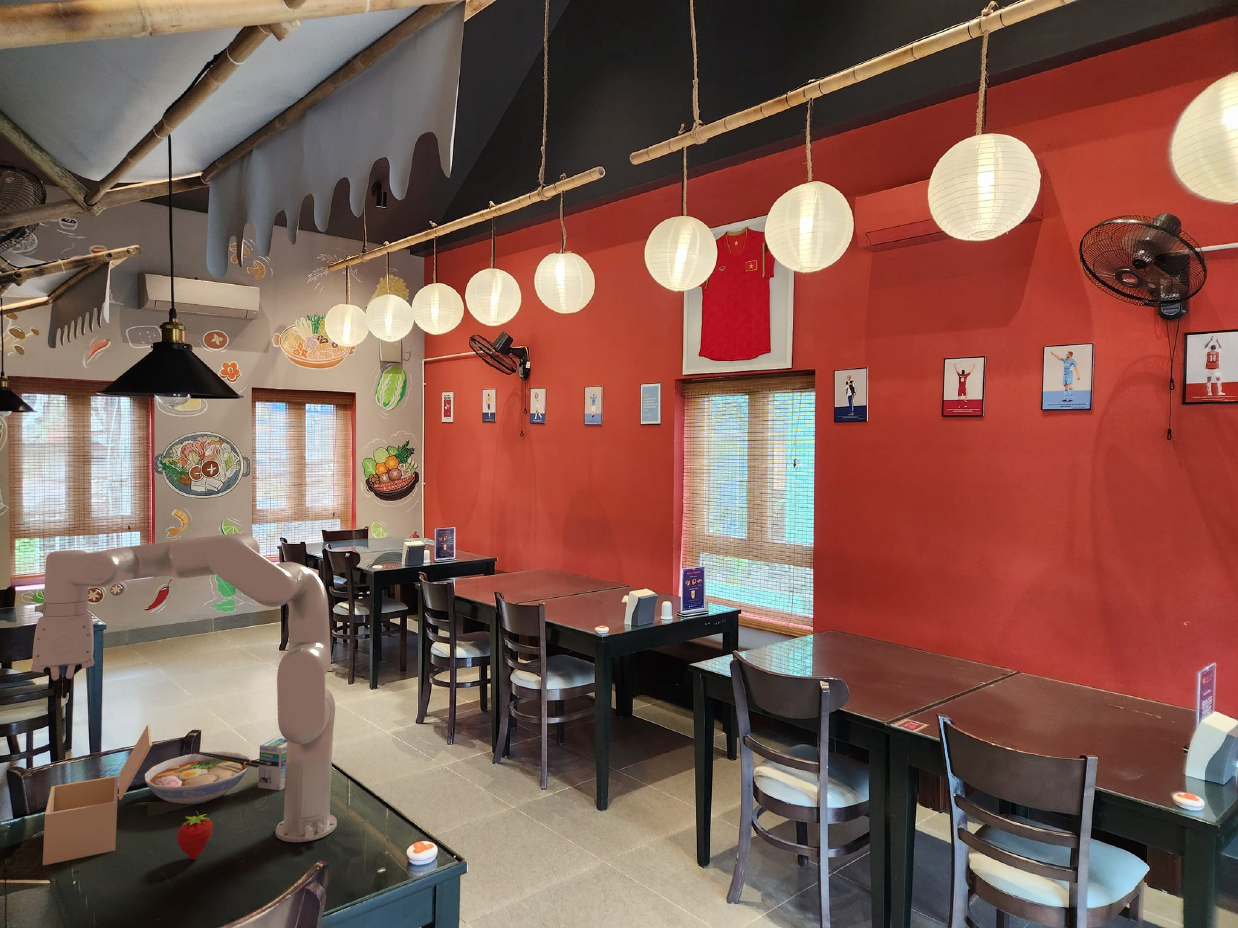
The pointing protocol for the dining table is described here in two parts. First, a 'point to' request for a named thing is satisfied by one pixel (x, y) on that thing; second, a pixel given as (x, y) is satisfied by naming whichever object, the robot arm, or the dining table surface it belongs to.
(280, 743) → the light bulb box
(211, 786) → the ramen bowl
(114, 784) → the cardboard carton
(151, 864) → the dining table surface
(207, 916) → the dining table surface
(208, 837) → the strawberry
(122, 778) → the carton flap
